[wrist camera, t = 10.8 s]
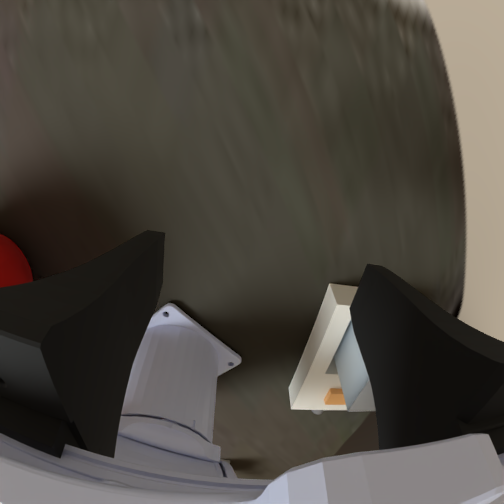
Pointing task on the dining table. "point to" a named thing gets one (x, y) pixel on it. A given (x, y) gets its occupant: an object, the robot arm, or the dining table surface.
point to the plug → (353, 374)
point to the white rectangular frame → (323, 355)
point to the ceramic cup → (13, 264)
